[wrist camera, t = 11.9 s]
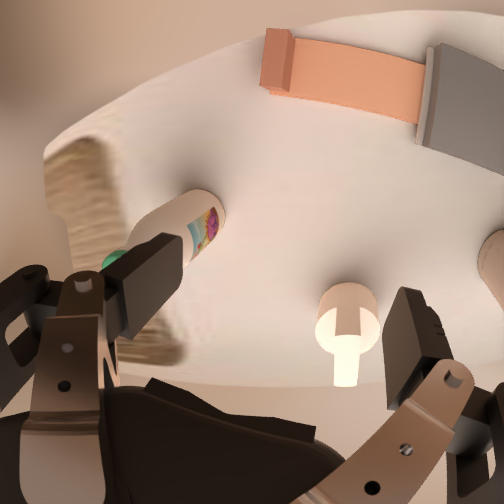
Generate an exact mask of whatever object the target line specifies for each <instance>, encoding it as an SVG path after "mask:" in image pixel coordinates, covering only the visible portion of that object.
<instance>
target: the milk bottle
mask: <svg viewBox="0 0 504 504" xmlns="http://www.w3.org/2000/svg"><path fill="white" fill-rule="evenodd" d="M224 222H225V214H224V209H223V207H222V204H221V203H220V201H219V200H218V199H217V198H216V197H215V196H214V195H213V194H211V193H210V192H208V191H205V190H200V189H195V190H191V191H188V192H186V193H184V194H182V195H180V196H179V197H177V198H175V199H173V200H171V201H169V202H167V203H166V204H164V205H162V206H160V207H159V208H157V209H155V210H154V211H152V212H150V213H149V214H147V215H146V216H145V217H143V218H142V219H141V220H140V221H139V222H138V223H137V224H136V226H135V227H134V229H133V230H132V232H131V234H130V237H129V239H128V242H127V244H126V245H125V247H121V248H119V249H117V250H116V251H114V252H113V253H111V254H110V255H108V256H107V257H106V258H105V260H104V261H103V264H102V269H104V268H105V267H106V266H108V265H109V264H111V263H112V262H113V261H115V260H116V259H117V258H120V256H122V255H123V254H124V253H127V251H129V250H130V249H131V248H133V247H134V246H136V245H139V244H141V243H144V242H147V241H150V240H151V239H152V238H154V237H155V236H157V235H158V234H160V233H161V232H165V233H169V234H174V235H178V236H181V237H182V239H183V267H185V266H186V265H187V264H188V263H189V262H190V261H191V260H192V259H194V258H195V257H196V256H197V255H198V254H199V253H200V252H201V251H202V250H203V249H204V248H205V247H206V246H207V245H208V244H209V243H210V242H211V241H212V240H213V239H214V238H215V237H216V236H217V235H218V234H219V233H220V231H221V230H222V228H223V226H224Z"/></svg>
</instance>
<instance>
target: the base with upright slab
mask: <svg viewBox="0 0 504 504" xmlns="http://www.w3.org/2000/svg"><path fill="white" fill-rule="evenodd" d="M379 333H380V325H379V317H378V309H377V302H376V299H375V297H374V294H373V293H372V292H371V291H370V290H369V289H368V288H366V287H365V286H363V285H360V284H358V283H351V282H346V283H340V284H337V285H335V286H333V287H331V288H330V289H328V290H327V291H326V292H325V293H324V295H323V296H322V298H321V300H320V303H319V310H318V316H317V323H316V330H315V334H316V339H317V341H318V342H319V344H320V345H321V346H322V347H323V348H324V349H325V350H326V351H328V352H330V353H332V354H335V360H334V386H341V387H349V386H356V385H357V377H358V366H359V355H360V354H361V353H364V352H365V351H367V350H369V349H370V348H371V347H372V346H373V345H374V344H375V343H376V341H377V339H378V337H379Z"/></svg>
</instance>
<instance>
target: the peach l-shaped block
mask: <svg viewBox="0 0 504 504" xmlns="http://www.w3.org/2000/svg"><path fill="white" fill-rule="evenodd" d="M424 76H425V65H422V64H419V63H416V62H412V61H409V60H406V59H402V58H399V57H395V56H391V55H387V54H383V53H379V52H375V51H371V50H366V49H362V48H357V47H352V46H347V45H341V44H336V43H329V42H323V41H316V40H308V39H300V38H293V36H292V35H291V33H290V31H289V30H286V29H272V28H267V31H266V38H265V46H264V53H263V61H262V69H261V77H260V85H259V86H262V87H264V88H266V89H269V90H270V94H272V95H281V96H288V97H296V98H302V99H309V100H315V101H321V102H326V103H332V104H337V105H342V106H347V107H352V108H356V109H361V110H365V111H369V112H373V113H378V114H382V115H385V116H389V117H393V118H397V119H400V120H404V121H407V122H411V123H414V124H417V125H418V121H419V115H420V108H421V101H422V93H423V85H424Z"/></svg>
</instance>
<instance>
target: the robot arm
mask: <svg viewBox="0 0 504 504" xmlns="http://www.w3.org/2000/svg"><path fill="white" fill-rule="evenodd" d="M478 271H479V274H480V276H481V278H482V279H483V281H484V282H485V284H486V285H487V286H488V288H489V289H490V291H491V292H492V294H493V295H494V297H495V298H496V300H497V301H498V303H499V304H500V306H501V307H502V309H503V311H504V229H501V230H499V231H496V232H495V233H493V234H492V235H491V236H490V237H489V238H488V239H487V240H486V241H485V243H484V244H483V246H482V248H481V250H480V253H479V257H478ZM182 276H183V239H182V237H181V236H178V235H174V234H169V233H165V232H161V233H160V234H158V235H157V236H155V237H154V238H152V239H151V240H150V241H147V242H144V243H141V244H139V245H136V246H134V247H133V248H131V249H130V250H129V251H127V253H124V254H123V255H122V256H120V258H117V259H116V260H115V261H113V262H112V263H111V264H109V265H108V266H106V267H105V268H104V269H102V270H101V271H100V272H96V271H90V270H85V271H79V272H76V273H73V274H71V275H70V276H68V277H67V278H66V279H65V280H64V282H61V281H53V280H50V279H49V274H48V270H47V268H46V267H45V266H43V265H29V266H26V267H23V268H21V269H19V270H18V271H17V272H15V273H14V274H12V275H11V276H10V277H8V278H7V279H5V280H4V281H3V282H1V283H0V413H1V411H2V410H3V409H4V408H5V407H6V405H7V404H8V403H9V402H10V401H11V399H12V398H13V397H14V396H15V395H16V394H17V393H18V391H19V390H20V389H21V388H22V387H23V385H24V384H25V383H26V382H27V381H28V380H29V379H30V377H32V375H33V374H34V373H35V374H34V381H33V389H32V397H31V406H30V411H27V412H23V413H19V414H15V415H11V416H6V417H2V418H0V504H407V503H408V502H409V501H410V500H411V498H412V497H413V496H414V495H415V493H416V492H417V491H418V489H419V488H420V487H421V485H422V484H423V483H424V481H425V480H426V479H427V477H428V476H429V474H430V473H431V471H432V470H433V468H434V467H435V465H436V464H437V462H438V461H439V459H440V458H441V456H442V455H443V453H444V451H446V458H447V504H504V382H502V383H500V384H499V385H498V386H497V387H496V389H495V390H494V391H493V392H492V393H491V392H488V391H486V390H483V389H481V388H478V387H476V386H474V384H475V383H474V378H473V376H472V374H471V372H470V371H469V370H468V368H467V367H465V366H464V365H463V364H461V363H460V362H458V361H455V360H454V358H453V355H452V352H451V349H450V346H449V343H448V340H447V338H446V336H445V332H444V329H443V328H442V324H441V321H440V318H439V316H438V315H437V314H436V313H435V311H434V310H433V309H432V308H431V307H429V306H427V305H426V302H425V299H424V297H423V294H422V292H421V291H420V290H415V289H411V288H407V287H400V289H399V290H398V292H397V295H396V297H395V300H394V302H393V305H392V307H391V310H390V312H389V314H388V317H387V319H386V321H385V324H384V328H383V332H382V343H383V353H384V364H385V377H386V393H387V409H388V410H395V412H394V414H393V415H392V416H391V417H390V418H389V419H388V420H387V421H386V422H385V423H384V424H383V425H382V426H381V428H380V429H379V430H377V432H376V433H375V434H374V435H373V436H372V437H371V438H370V439H369V440H367V441H366V443H364V445H362V446H361V447H360V448H359V449H358V450H357V451H356V452H355V453H354V454H353V455H352V456H351V457H350V458H348V459H347V460H345V459H344V458H343V457H342V456H341V455H340V454H339V453H338V452H337V451H335V450H334V449H332V448H331V447H329V446H328V445H326V444H324V443H323V442H321V441H319V440H316V439H314V437H315V430H316V426H311V425H306V424H302V423H296V422H293V421H288V420H284V419H280V418H275V417H260V416H259V417H258V416H244V415H231V414H226V413H224V412H222V411H220V410H218V409H217V408H215V407H213V406H212V405H210V404H208V403H207V402H205V401H203V400H202V399H200V398H199V397H197V396H195V395H194V394H192V393H190V392H189V391H186V390H184V389H181V388H178V387H175V386H173V385H170V384H167V383H165V382H163V381H160V380H157V379H155V378H153V377H152V378H151V379H150V381H149V382H148V384H147V385H146V387H138V386H120V380H119V369H118V357H117V345H116V340H115V339H116V338H117V337H118V336H119V335H120V336H123V337H125V338H127V339H130V340H132V339H133V338H134V337H135V336H136V335H137V333H138V332H139V331H140V330H141V329H142V328H143V327H144V326H145V324H146V323H147V322H148V321H149V320H150V319H151V318H152V317H153V315H154V314H155V313H156V312H157V311H158V310H159V309H160V308H161V307H162V305H163V304H164V303H165V302H166V301H167V300H168V299H169V298H170V297H171V295H172V294H173V293H174V292H175V291H176V290H177V289H178V287H179V286H180V283H181V280H182ZM22 313H24V316H25V319H26V322H27V324H28V328H27V329H25V330H24V331H23V332H22V333H21V334H20V335H19V336H18V337H17V338H16V339H15V340H14V341H13V342H12V343H11V344H10V345H9V346H8V344H7V342H6V339H5V331H6V328H7V326H8V325H9V324H10V323H11V322H13V321H14V320H15V319H16V318H17V317H18V316H19V315H21V314H22ZM492 447H494V453H495V460H496V467H495V472H494V474H493V476H492V477H491V478H490V480H489V471H488V461H487V452H488V451H489V450H490V449H491V448H492Z"/></svg>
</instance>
